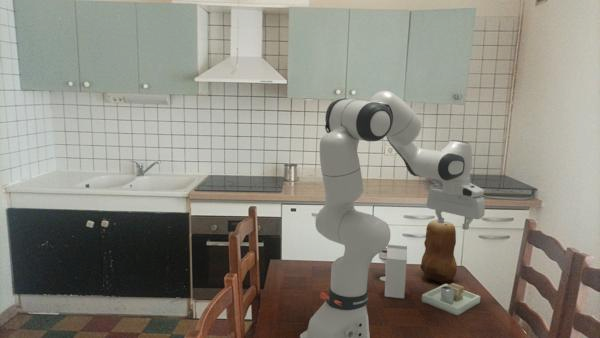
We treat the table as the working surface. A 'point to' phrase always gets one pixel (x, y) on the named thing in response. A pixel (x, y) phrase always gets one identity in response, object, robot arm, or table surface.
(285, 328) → the table surface
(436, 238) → the butternut squash
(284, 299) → the table surface
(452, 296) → the grey rounded cylinder
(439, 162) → the robot arm
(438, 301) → the tray
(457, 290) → the beech block
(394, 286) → the milk carton
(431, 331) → the table surface
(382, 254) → the wineglass
